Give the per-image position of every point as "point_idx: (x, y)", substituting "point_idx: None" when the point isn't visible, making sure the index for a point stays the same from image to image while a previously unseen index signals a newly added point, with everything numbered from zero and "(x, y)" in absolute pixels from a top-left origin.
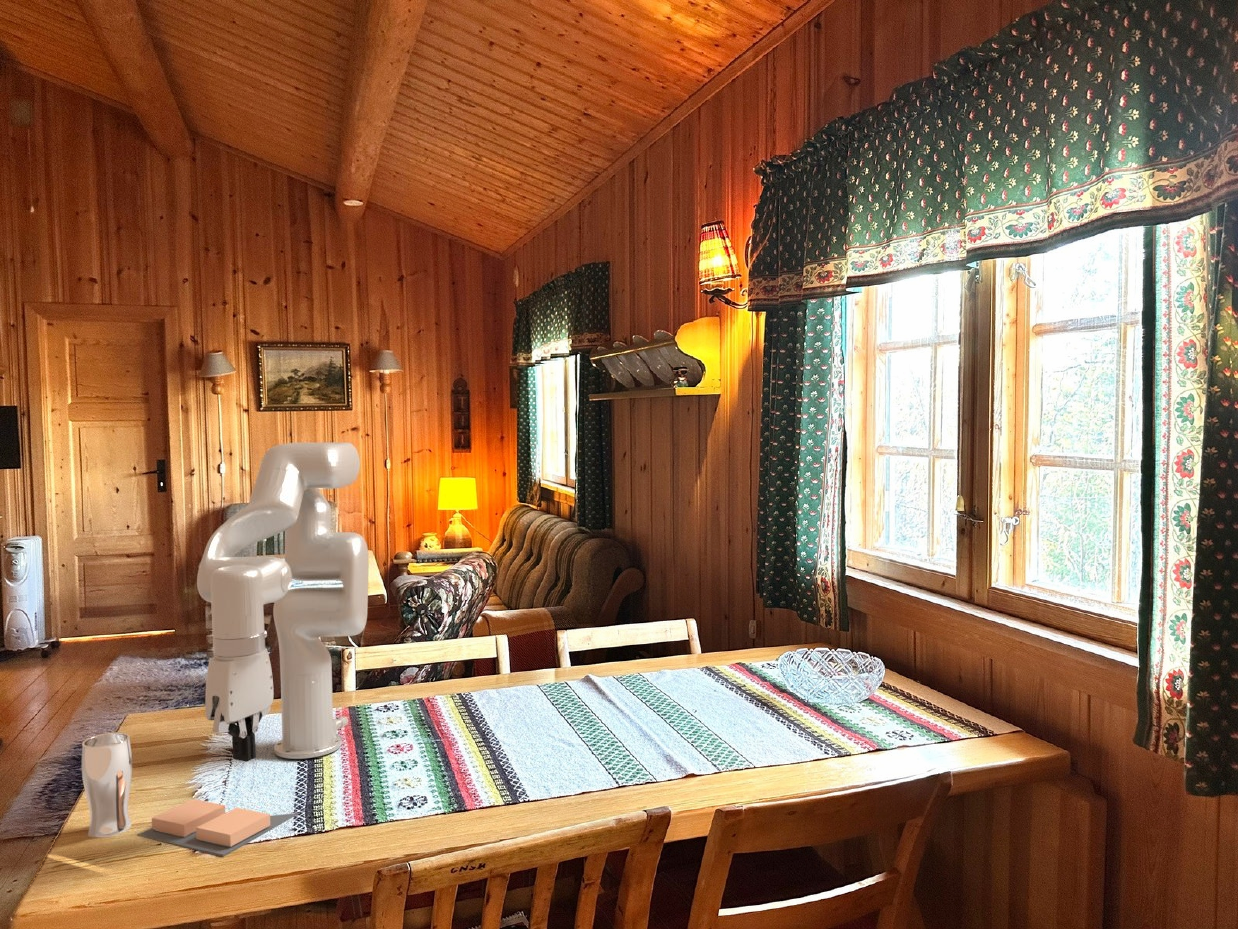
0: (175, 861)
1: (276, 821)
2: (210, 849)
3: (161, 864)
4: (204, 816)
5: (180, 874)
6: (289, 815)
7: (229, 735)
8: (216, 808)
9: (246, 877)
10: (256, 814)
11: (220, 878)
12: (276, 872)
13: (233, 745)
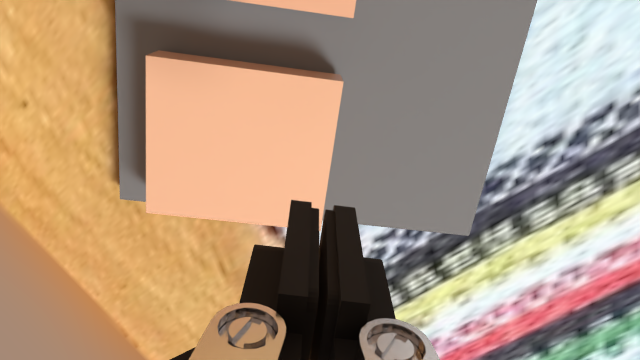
0: (62, 53)
1: (360, 203)
2: (129, 141)
3: (26, 22)
4: (248, 2)
5: (15, 127)
6: (409, 212)
7: (222, 315)
8: (316, 5)
9: (90, 293)
10: (308, 190)
11: (55, 241)
12: (139, 339)
13: (246, 285)
